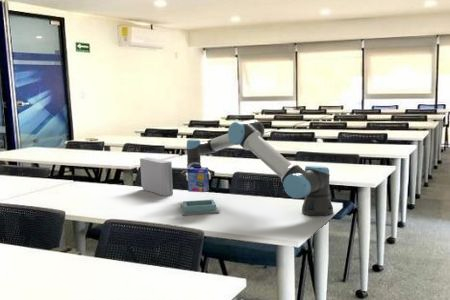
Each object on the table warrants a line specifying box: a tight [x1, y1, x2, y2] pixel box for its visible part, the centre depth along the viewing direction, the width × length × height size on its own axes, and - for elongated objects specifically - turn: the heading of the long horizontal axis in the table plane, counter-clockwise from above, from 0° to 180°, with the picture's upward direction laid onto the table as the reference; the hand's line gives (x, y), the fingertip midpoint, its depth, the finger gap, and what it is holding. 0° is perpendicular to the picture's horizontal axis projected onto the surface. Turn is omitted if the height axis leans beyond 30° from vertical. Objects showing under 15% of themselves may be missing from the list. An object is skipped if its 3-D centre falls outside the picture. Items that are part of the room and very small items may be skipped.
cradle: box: [180, 199, 220, 217], centre depth 257 cm, size 20×18×4 cm
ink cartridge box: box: [187, 164, 210, 193], centre depth 255 cm, size 10×6×14 cm, turn 76°
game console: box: [139, 156, 174, 197], centre depth 301 cm, size 6×27×20 cm, turn 39°
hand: (198, 177), depth 251 cm, fingers closed on ink cartridge box, 11 cm apart
